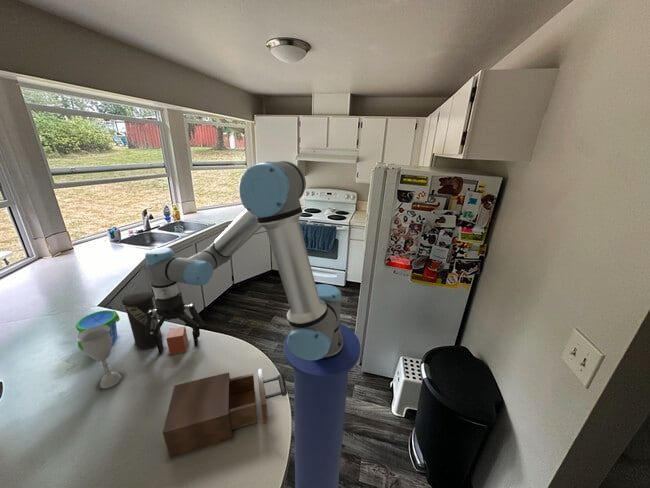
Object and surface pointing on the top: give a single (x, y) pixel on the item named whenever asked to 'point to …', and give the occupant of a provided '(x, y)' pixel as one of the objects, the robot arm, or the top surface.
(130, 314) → the container
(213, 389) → the cabinet
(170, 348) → the block
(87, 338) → the chalice
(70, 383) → the top surface
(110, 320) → the snack cup
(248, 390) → the drawer
